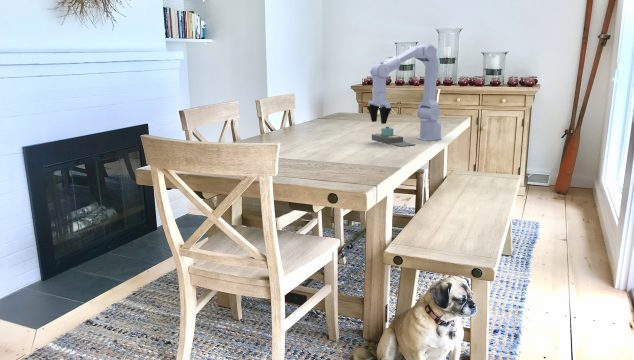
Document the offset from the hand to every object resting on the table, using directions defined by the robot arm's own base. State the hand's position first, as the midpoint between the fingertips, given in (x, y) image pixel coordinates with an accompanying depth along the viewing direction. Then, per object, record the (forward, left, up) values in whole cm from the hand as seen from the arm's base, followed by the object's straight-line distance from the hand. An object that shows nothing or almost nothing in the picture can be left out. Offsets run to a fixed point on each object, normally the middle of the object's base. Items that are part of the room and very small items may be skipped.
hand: (378, 122), depth 234 cm
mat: (-9, +6, -10) cm, 15 cm away
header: (-9, -6, -10) cm, 15 cm away
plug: (-9, -6, -10) cm, 15 cm away
